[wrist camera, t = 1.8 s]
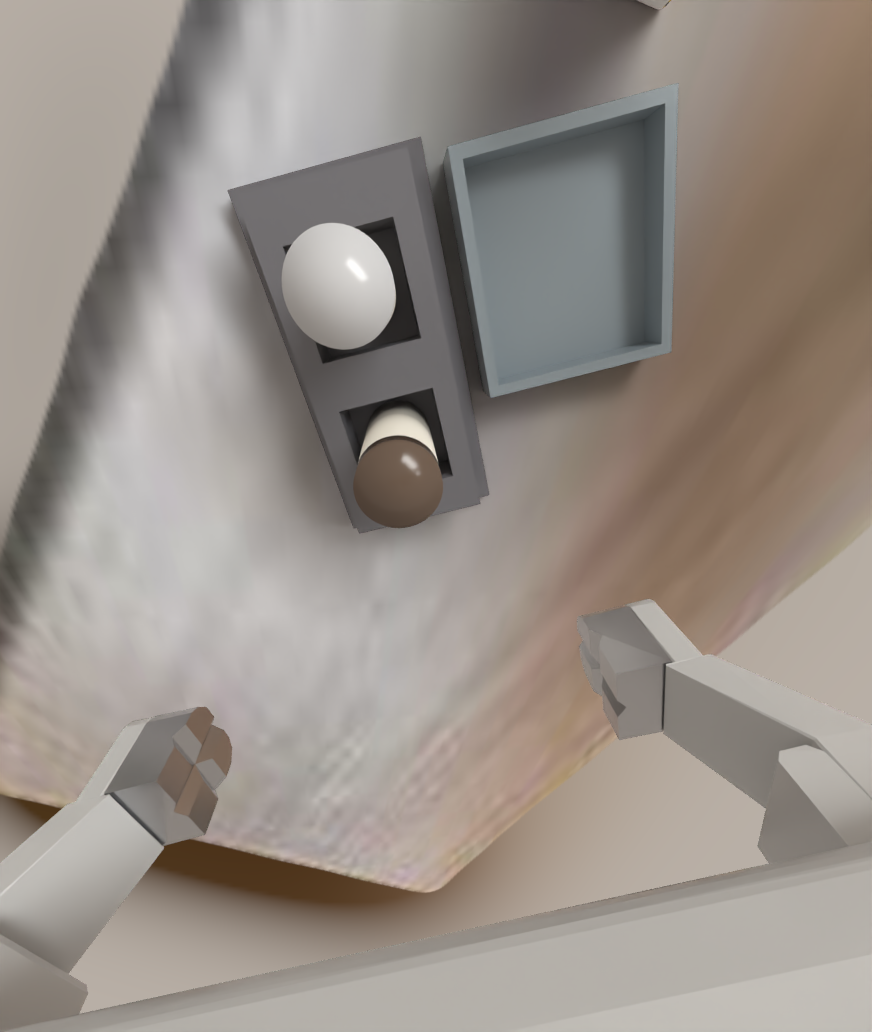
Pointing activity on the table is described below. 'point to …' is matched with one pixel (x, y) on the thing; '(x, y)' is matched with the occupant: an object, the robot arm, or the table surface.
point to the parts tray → (568, 240)
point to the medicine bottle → (655, 3)
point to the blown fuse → (398, 467)
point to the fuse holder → (408, 335)
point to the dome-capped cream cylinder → (338, 286)
